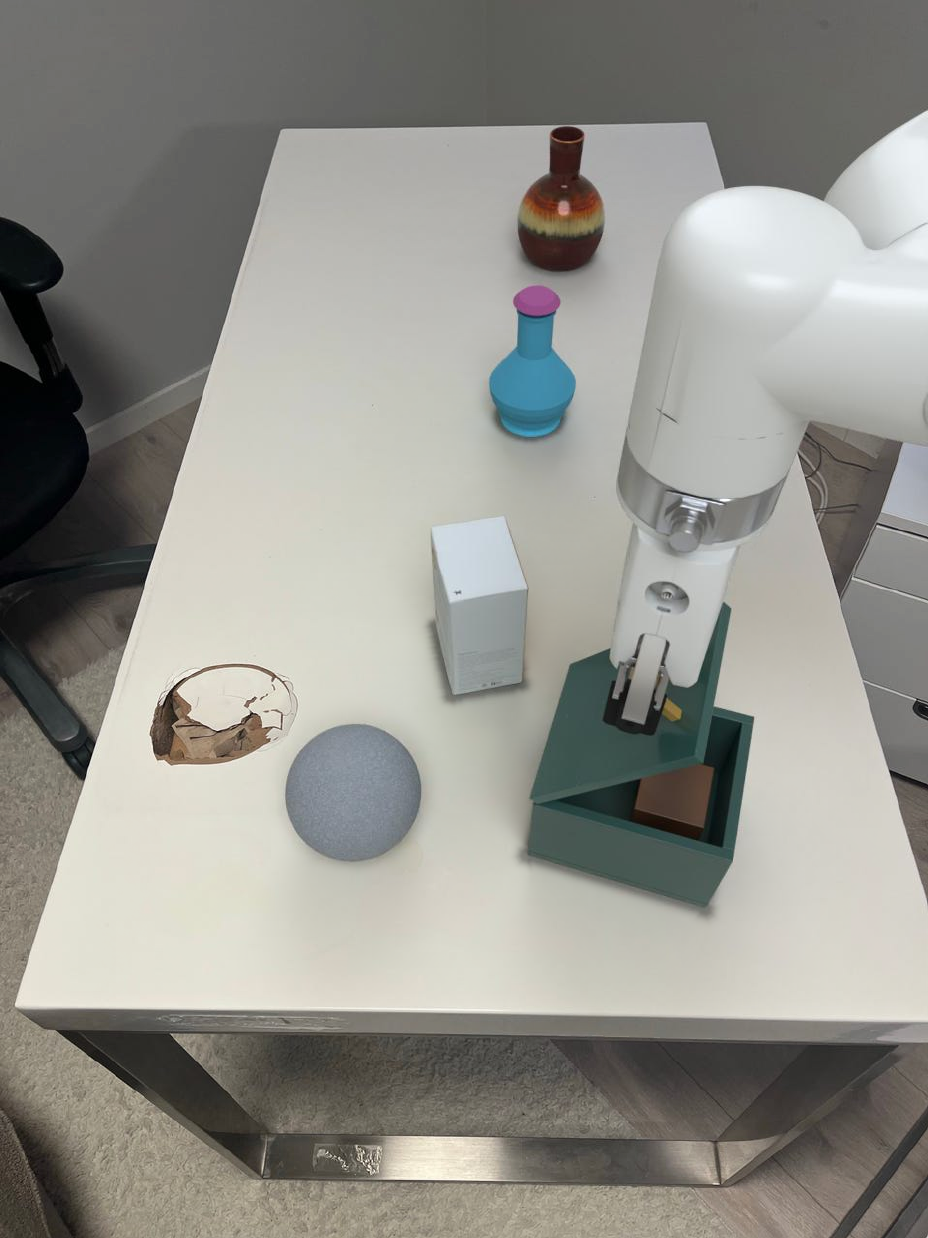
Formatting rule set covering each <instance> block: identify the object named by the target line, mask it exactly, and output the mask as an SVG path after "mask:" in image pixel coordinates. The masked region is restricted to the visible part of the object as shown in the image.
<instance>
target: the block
mask: <svg viewBox="0 0 928 1238" xmlns="http://www.w3.org/2000/svg"><path fill="white" fill-rule="evenodd" d="M713 774H714V768H713V767H709V766H706V765H702V764H698V765H694V766H690V767H686V768H682V769H678V770H674V771H670V772H665V773H661V774H657V775H653V776H649V777H645V778H641V779H639V780H638V785H637V789H636V793H635V798H634V802H633V806H632V811H631V815H630V819H629V821H630V822H633V823H637V824H640V825H644V826H647V827H651V828H654V829H658V830H661V831H665V832H668V833H672V834H675V835H679V836H682V837H686V838H689V839H693V840H696V841H698V840H699V837H700V835H701V833H702V831H703V829H704V825H705V820H706V814H707V808H708V803H709V797H710V791H711V785H712V780H713Z"/></svg>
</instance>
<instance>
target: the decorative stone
mask: <svg viewBox="0 0 928 1238" xmlns="http://www.w3.org/2000/svg"><path fill="white" fill-rule="evenodd" d="M284 798H285V799H284V800H285V807H286V813H287V815H288V819H289V821H290V824H291V826H292V827H293V830H294V831H295V833H296V834H297V836H298V837H299V838H300V839H301V840H302V841H303V843H305V844H306V845H307V846H308V847H310V848H311V849H312V850H313V851H315V852H317V853H318V854H320V855H322V856H324V857H327V858H329V859H332V860H335V861H339V862H349V863H350V862H352V863H353V862H363V861H367V860H368V861H369V860H372V859H374V858H377V857H379V856H382V855H383V854H386V853H387V852H389V851H390V850H392V849H393V848H394V847H396V846H397V845H398V844H399V843H401V841H402V840H403V839H404V838H405V837H406V836H407V835H408V833H409V831H410V830H411V829H412V827H413V825H414V823H415V821H416V819H417V817H418V813H419V810H420V807H421V800H422V783H421V776H420V772H419V769H418V766H417V764H416V762H415V759H414V757H413V756H412V754H411V753H410V751H409V750H408V748H407V747H405V745H404V744H403V743H402V742H401V741H400V740H398V739H397V738H396V737H395V736H393V735H392V734H390V733H389V732H387V731H385V730H383V729H382V728H379V727H376V726H373V725H369V724H362V723H350V724H349V723H348V724H341V725H338V726H334V727H332V728H331V727H330V728H329V729H327V730H325V731H322V732H321V733H319V734H316V736H314V737H313V738H312V739H310V740H309V741H308V742H307V743H306V744H304V746H303V747H302V748H301V750H300V751H299V752H298V753H297V754H296V756H295V758H294V760H293V761H292V763H291V765H290V768H289V770H288V773H287V777H286V783H285V791H284Z"/></svg>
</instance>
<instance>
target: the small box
mask: <svg viewBox="0 0 928 1238" xmlns="http://www.w3.org/2000/svg"><path fill="white" fill-rule="evenodd" d="M430 548H431V562H432V563H431V564H432V583H433V598H434V617H435V618H434V619H435V627H436V633H437V637H438V642H439V646H440V650H441V654H442V658H443V662H444V663H443V664H444V667H445V670H446V674H447V675H446V676H447V678H448V683H449V687H450V690H451V693H452V695H453V696H457V695H461V694H462V695H463V694H468V693H474V692H478V691H484V690H485V691H486V690H489V689H494V688H500V687H504V686H511V685H515V684H516V685H517V684H521V683H522V682H523V679H524V678H523V677H524V663H525V661H524V660H525V659H524V658H525V645H526V630H527V629H526V628H527V615H528V614H527V613H528V612H527V611H528V600H529V599H528V597H529V586H528V582H527V580H526V576H525V572H524V570H523V567H522V564H521V561H520V558H519V555H518V551H517V548H516V546H515V542H514V538H513V536H512V533H511V530H510V527H509V523H508V520H507V517H506V516H505V515H501V516H496V517H489V518H481V519H475V520H470V521H463V522H456V523H449V524H443V525H437V526H431V527H430Z"/></svg>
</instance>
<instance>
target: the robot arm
mask: <svg viewBox="0 0 928 1238" xmlns="http://www.w3.org/2000/svg"><path fill="white" fill-rule="evenodd" d="M659 254H660V255H659V258H658V261H657V262H658V263H657V267H656V273H655V277H654V283H653V287H652V292H651V293H652V294H651V298H650V305H649V310H648V315H647V321H646V324H645V330H644V336H643V342H642V346H641V352H640V358H639V363H638V368H637V374H636V378H635V384H634V387H633V388H634V389H633V392H632V393H633V394H632V399H631V403H630V408H629V414H628V419H627V420H628V421H627V426H626V430H625V435H624V439H623V445H622V451H621V455H620V460H619V467H618V472H617V476H616V481H615V482H616V487H615V491H616V495H617V500H618V503H619V505H620V507H621V509H622V511H623V512H624V514H625V515H626V517H627V518H628V519H629V520H630V522H631V523H632V525H631V528H630V533H629V539H628V544H627V548H626V554H625V558H624V563H623V569H622V575H621V579H620V586H619V592H618V597H617V602H616V610H615V616H614V622H613V628H612V629H613V630H612V637H611V645H610V648H611V650H610V660H611V662H612V664H613V665H614V667H615V668H616V669H618V666H620V669H619V673H618V677H617V680H616V681H614V680H612V683H611V687H610V691H609V695H608V699H607V703H606V707H605V711H604V715H603V722H604V723H606V724H608V725H612V726H616V728H617V729H619V730H620V731H623V732H626V733H630V734H640V733H641V734H645V735H649V736H652V735H654V734H655V732H656V729H657V726H658V723H659V720H660V717H661V714H662V711H663V708H664V706H665V703H666V699H667V695H666V694H665V691H666V688H667V684H668V681H669V678H670V681H671V683H672V684H673V685H676V686H681V687H686V688H688V687H690V686H692V685H693V684H695V683H696V682H697V680H698V676H699V673H700V670H701V667H702V663H703V660H704V657H705V654H706V651H707V648H708V645H709V642H710V639H711V636H712V633H713V630H714V627H715V624H716V622H717V619H718V616H719V613H720V610H721V607H722V604H723V602H725V597H726V594H727V591H728V588H729V585H730V583H731V579H732V575H733V572H734V569H735V566H736V562H737V560H738V556H739V551H740V548H741V546H742V545H745V544H746V543H749V542H750V541H752V540H754V539H755V538H757V537H758V536H759V535H761V534H762V532H763V531H764V530H765V529H766V528H767V526H768V525H769V523H770V521H771V519H772V517H773V514H774V512H775V508H776V506H777V503H778V501H779V498H780V495H781V493H782V491H783V488H784V486H785V483H786V481H787V478H788V476H789V472H790V471H791V468H792V466H793V464H794V462H795V459H796V457H797V454H798V451H799V449H800V446H801V444H802V441H803V439H804V436H805V434H806V431H807V429H808V426H809V424H810V421H813V422H816V423H822V424H827V425H831V426H834V427H839V428H842V429H846V430H852V431H855V432H860V433H864V434H867V435H871V436H875V437H879V438H882V439H887V440H891V441H895V442H901V443H906V444H910V445H915V446H920V447H928V109H927V110H925V111H923V112H921V113H919V114H918V115H916V116H914V117H912V118H911V119H910V120H908V121H906V122H905V123H903V124H901V125H900V126H897V128H895V129H893V130H892V131H890V132H889V133H887V134H886V135H884V136H883V137H882V138H880V139H879V140H878V141H877V142H876V143H874V144H873V145H871V146H870V147H869V148H867V149H866V150H864V151H863V152H862V153H861V154H860V155H859V156H857V157H856V159H855V160H853V161H852V162H851V163H850V164H849V166H848V167H846V168H845V169H844V170H843V171H842V173H841V174H840V175H839V177H837V179H836V180H835V182H834V183H833V184H832V186H831V187H830V189H829V190H828V191H827V193H826V194H825V196H824V199H823V200H821V199H819V198H817V197H815V196H813V195H810V194H806V193H803V192H800V191H796V190H793V189H789V188H782V187H777V186H767V185H744V186H743V185H742V186H734V187H733V186H732V187H729V188H728V187H727V188H723V189H719V190H717V191H714V192H710V193H708V194H706V195H704V196H702V197H700V198H698V199H696V200H694V201H693V202H692V203H690V204H689V205H687V207H685V208H684V209H683V210H682V211H681V213H679V214H678V216H676V218H675V219H674V221H673V222H672V223H671V225H670V227H669V229H668V231H667V233H666V235H665V237H664V239H663V242H662V246H661V251H660V253H659ZM638 645H639V646H640V649H639V648H638ZM664 652H665V654H664V655H663V653H664ZM630 666H631V667H635V669H634V673H633V676H632V680H631V679H627V675H628V671H629V667H630ZM658 674H660V675H659V678H658V682H657V685H656V689H655V683H656V679H657V676H658ZM626 679H627V682H626Z"/></svg>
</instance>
